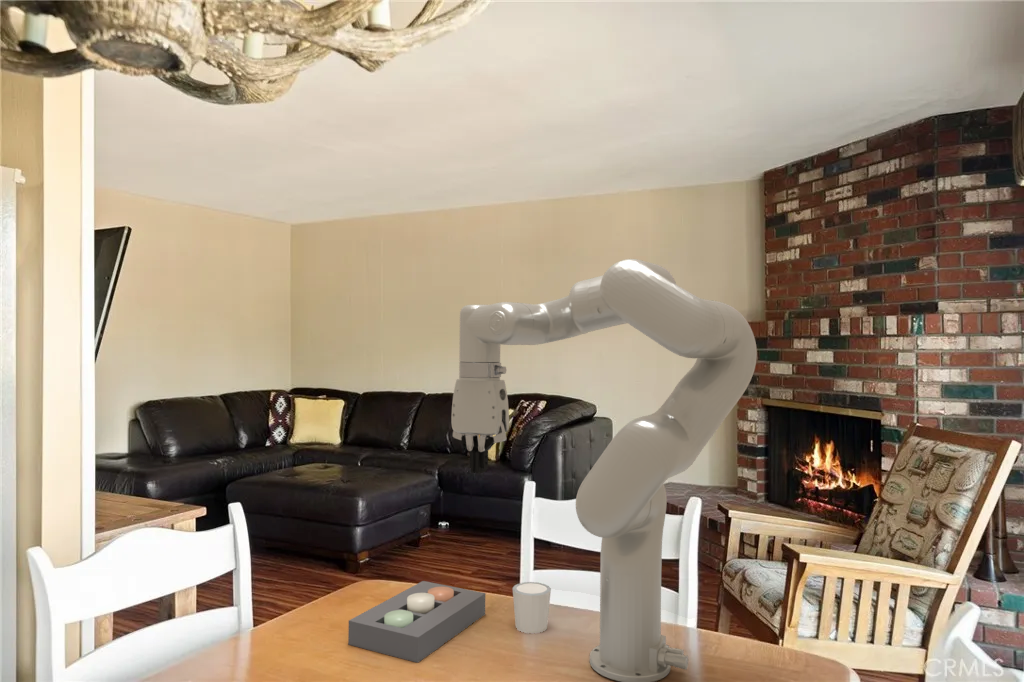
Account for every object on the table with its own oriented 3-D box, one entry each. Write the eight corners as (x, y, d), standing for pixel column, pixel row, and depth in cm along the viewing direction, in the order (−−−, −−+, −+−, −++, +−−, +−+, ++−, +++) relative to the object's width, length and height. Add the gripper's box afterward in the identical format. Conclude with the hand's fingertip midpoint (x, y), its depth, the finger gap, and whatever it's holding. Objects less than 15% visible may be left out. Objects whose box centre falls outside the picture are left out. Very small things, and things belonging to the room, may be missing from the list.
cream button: (439, 612, 123) (439, 595, 123) (424, 622, 118) (424, 604, 118) (417, 607, 125) (417, 591, 125) (401, 616, 120) (401, 599, 120)
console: (485, 614, 128) (485, 593, 128) (417, 662, 108) (417, 637, 109) (422, 601, 134) (423, 580, 134) (348, 644, 115) (348, 620, 115)
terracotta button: (458, 605, 128) (458, 589, 128) (444, 614, 124) (444, 597, 124) (436, 600, 130) (436, 585, 131) (422, 609, 126) (422, 593, 126)
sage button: (418, 630, 117) (418, 613, 117) (401, 641, 112) (402, 623, 112) (395, 625, 119) (395, 608, 119) (378, 635, 115) (378, 617, 115)
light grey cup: (551, 635, 119) (551, 595, 119) (511, 634, 119) (512, 594, 119) (549, 619, 126) (550, 581, 126) (512, 619, 126) (512, 581, 126)
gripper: (525, 372, 126) (524, 472, 126) (455, 370, 132) (454, 465, 132) (506, 374, 119) (505, 479, 119) (434, 371, 126) (433, 471, 126)
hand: (478, 472), depth 126 cm, fingers closed
